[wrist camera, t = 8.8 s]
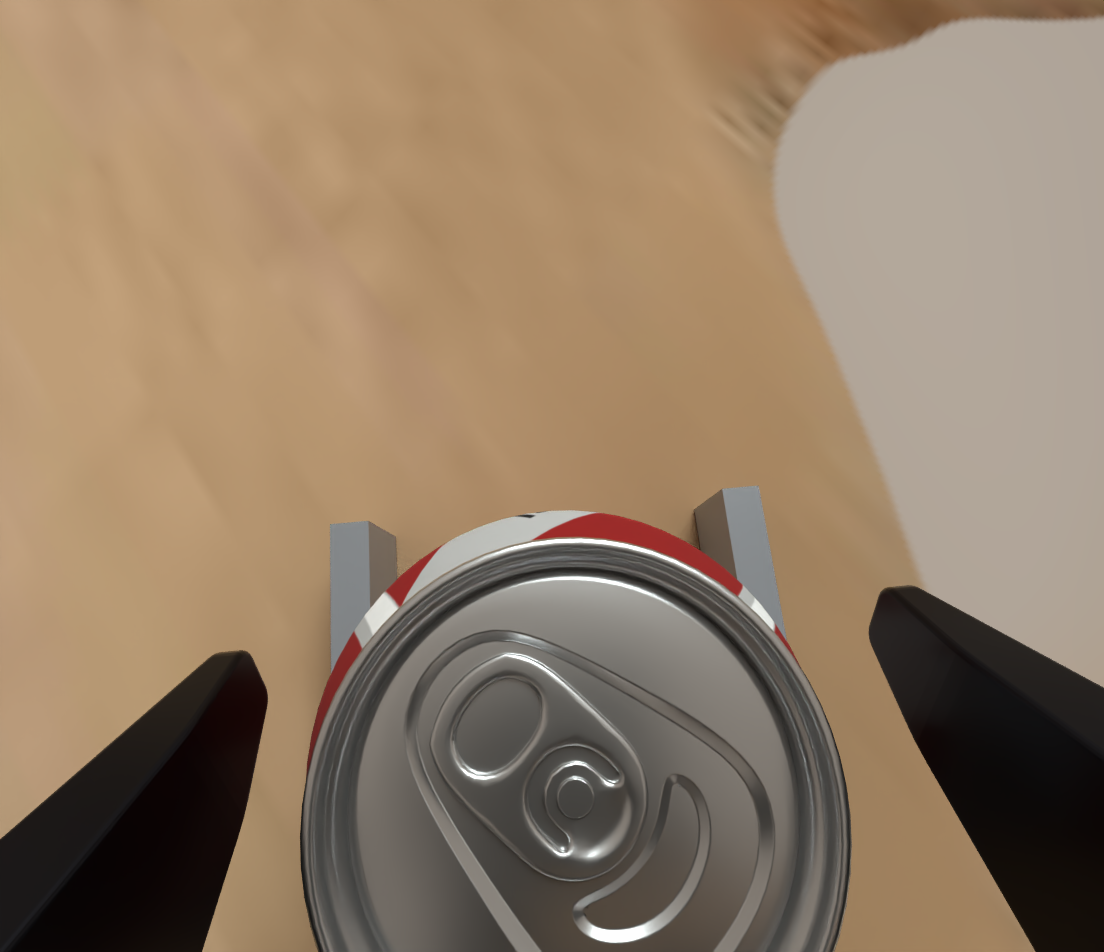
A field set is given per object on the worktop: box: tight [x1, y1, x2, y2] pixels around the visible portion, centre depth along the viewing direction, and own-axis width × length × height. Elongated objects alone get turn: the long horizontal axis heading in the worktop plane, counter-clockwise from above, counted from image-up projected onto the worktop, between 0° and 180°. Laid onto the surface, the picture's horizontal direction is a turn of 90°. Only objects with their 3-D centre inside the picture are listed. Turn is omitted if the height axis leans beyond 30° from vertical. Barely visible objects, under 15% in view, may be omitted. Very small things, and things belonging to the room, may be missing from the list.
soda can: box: [300, 510, 852, 952], centre depth 12 cm, size 7×7×12 cm
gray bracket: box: [330, 486, 787, 673], centre depth 16 cm, size 10×12×3 cm
